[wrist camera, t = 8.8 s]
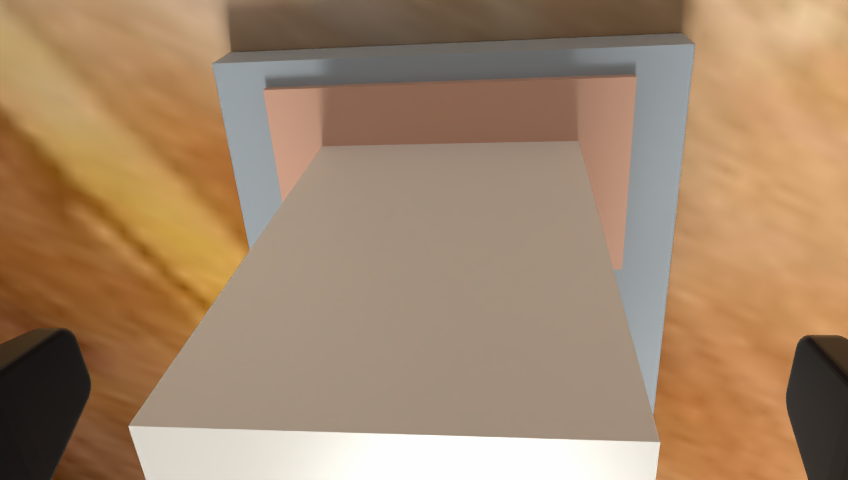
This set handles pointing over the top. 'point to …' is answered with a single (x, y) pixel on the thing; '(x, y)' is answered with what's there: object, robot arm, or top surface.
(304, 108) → the domino board
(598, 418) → the end domino
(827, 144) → the top surface
